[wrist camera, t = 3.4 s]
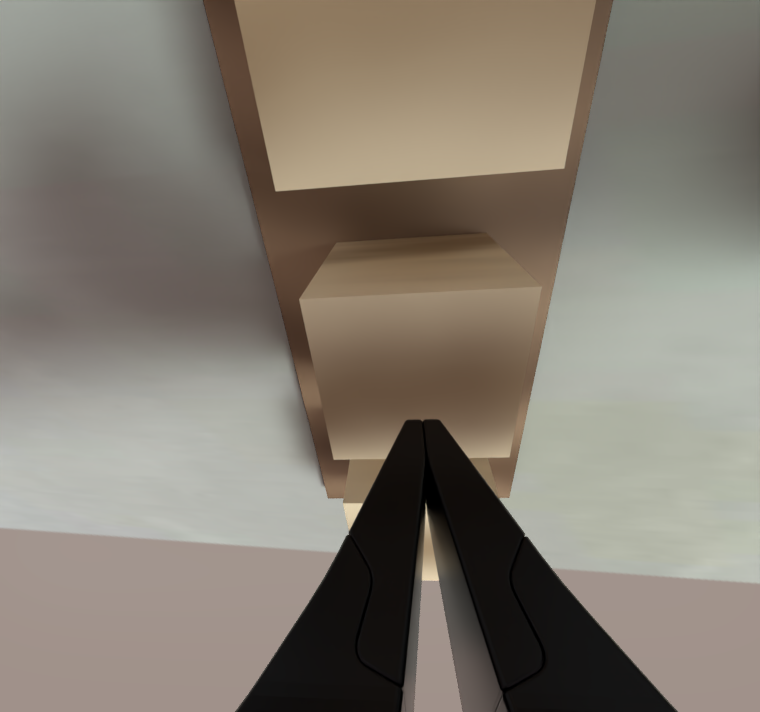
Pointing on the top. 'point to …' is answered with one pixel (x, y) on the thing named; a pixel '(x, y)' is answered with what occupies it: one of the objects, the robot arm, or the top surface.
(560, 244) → the walnut mat
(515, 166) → the block seven
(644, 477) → the top surface
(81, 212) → the top surface
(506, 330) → the plain block
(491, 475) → the block four
